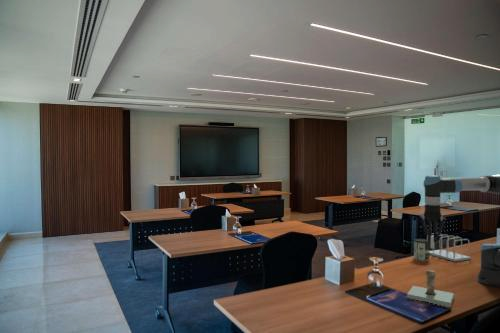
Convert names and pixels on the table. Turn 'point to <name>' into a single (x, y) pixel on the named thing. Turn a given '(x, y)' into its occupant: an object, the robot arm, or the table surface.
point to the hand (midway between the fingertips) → (432, 247)
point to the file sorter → (450, 255)
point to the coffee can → (421, 249)
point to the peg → (430, 282)
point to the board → (438, 298)
